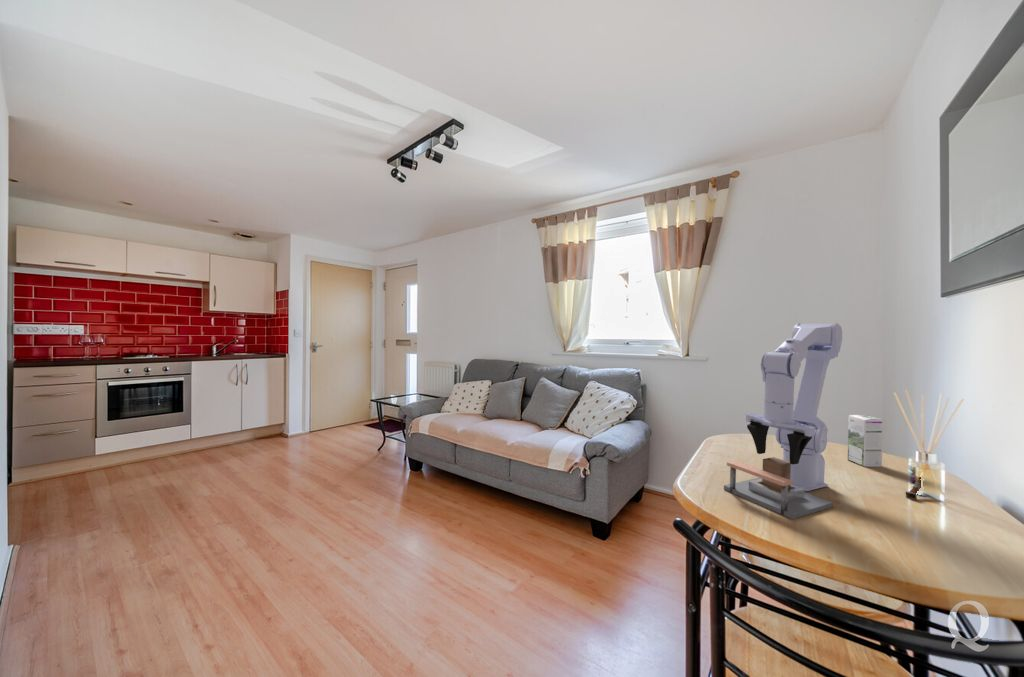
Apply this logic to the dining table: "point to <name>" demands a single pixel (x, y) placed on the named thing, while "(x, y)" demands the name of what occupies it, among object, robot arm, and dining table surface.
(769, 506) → the socket board
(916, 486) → the brown figurine
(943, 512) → the dining table surface
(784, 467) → the walnut peg
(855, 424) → the syrup box
